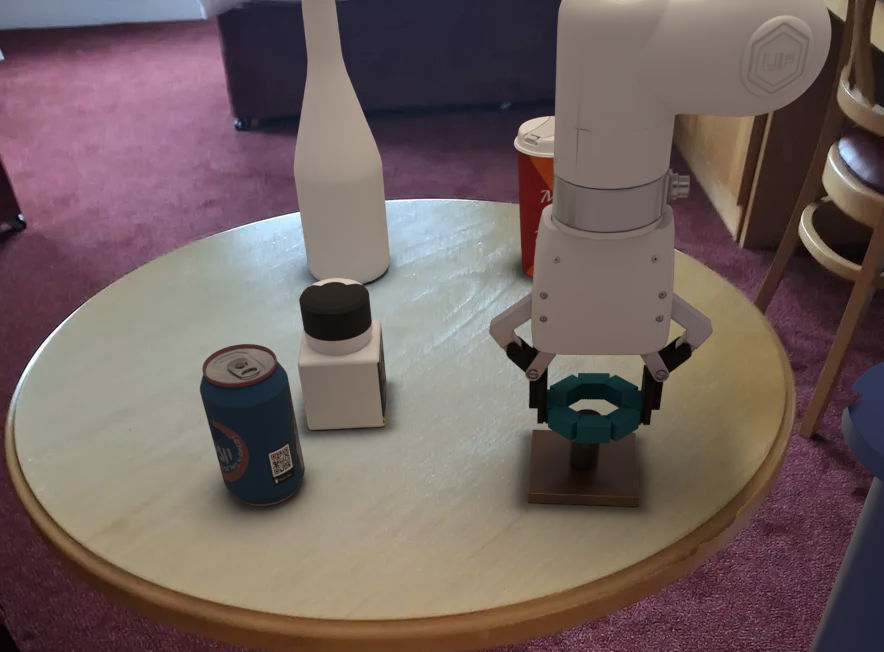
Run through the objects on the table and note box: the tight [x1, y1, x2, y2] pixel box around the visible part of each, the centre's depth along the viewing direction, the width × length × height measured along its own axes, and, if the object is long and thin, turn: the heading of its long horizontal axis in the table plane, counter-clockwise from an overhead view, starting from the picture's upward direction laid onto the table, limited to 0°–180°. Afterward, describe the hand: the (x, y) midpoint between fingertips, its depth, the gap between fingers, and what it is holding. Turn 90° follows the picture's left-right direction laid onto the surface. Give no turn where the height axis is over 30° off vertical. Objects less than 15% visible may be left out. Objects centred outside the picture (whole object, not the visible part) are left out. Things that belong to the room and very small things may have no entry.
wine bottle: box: [293, 0, 391, 285], centre depth 96 cm, size 10×10×30 cm
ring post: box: [527, 408, 641, 508], centre depth 76 cm, size 9×9×6 cm
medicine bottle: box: [297, 278, 388, 431], centre depth 82 cm, size 7×7×12 cm
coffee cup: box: [513, 115, 555, 278], centre depth 99 cm, size 8×8×15 cm
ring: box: [544, 372, 642, 443], centre depth 73 cm, size 8×8×2 cm
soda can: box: [199, 343, 306, 507], centre depth 74 cm, size 7×7×12 cm
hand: (592, 413), depth 74 cm, fingers closed on ring, 7 cm apart
